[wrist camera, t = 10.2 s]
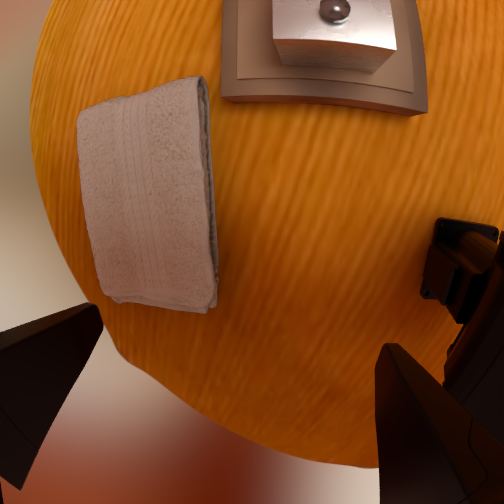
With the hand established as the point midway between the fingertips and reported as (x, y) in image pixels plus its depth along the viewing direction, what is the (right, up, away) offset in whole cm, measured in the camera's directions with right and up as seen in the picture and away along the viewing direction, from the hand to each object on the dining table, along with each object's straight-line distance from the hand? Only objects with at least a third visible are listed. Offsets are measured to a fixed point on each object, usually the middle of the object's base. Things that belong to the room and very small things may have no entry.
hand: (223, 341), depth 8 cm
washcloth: (-7, +7, +14) cm, 17 cm away
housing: (+5, +16, +3) cm, 17 cm away
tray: (+6, +18, +6) cm, 19 cm away
